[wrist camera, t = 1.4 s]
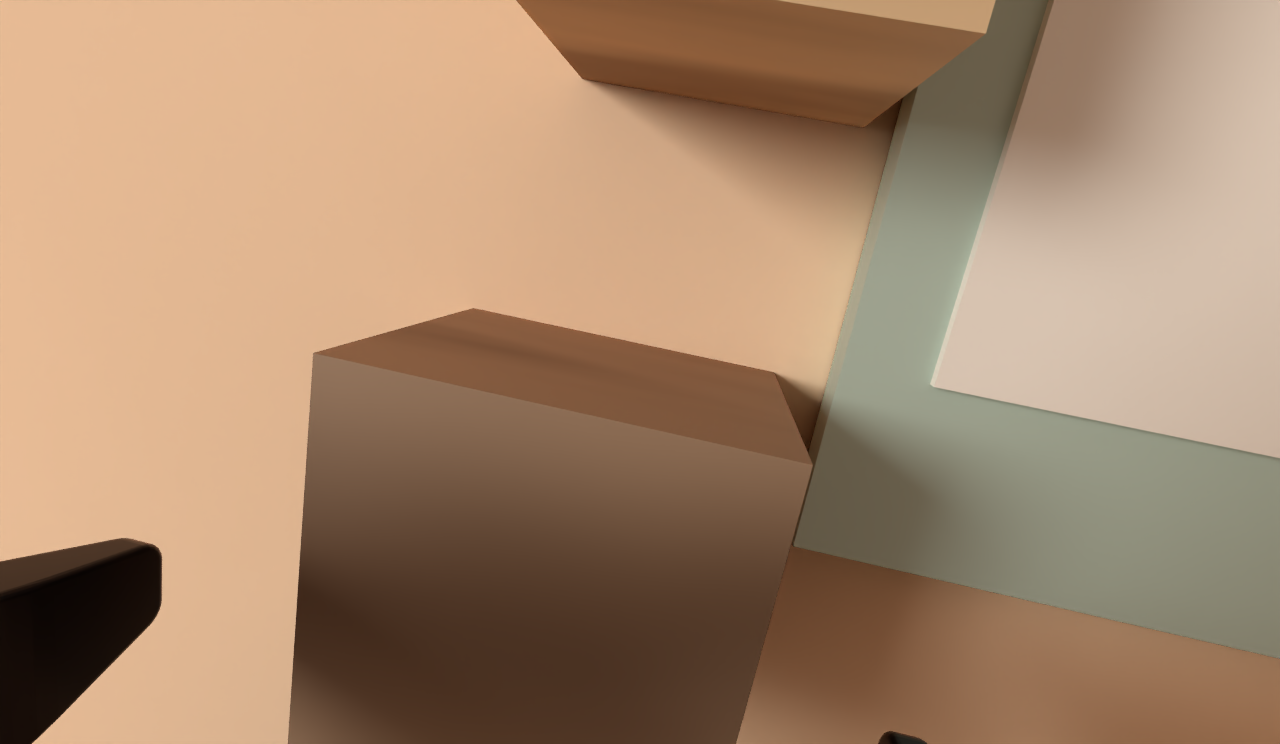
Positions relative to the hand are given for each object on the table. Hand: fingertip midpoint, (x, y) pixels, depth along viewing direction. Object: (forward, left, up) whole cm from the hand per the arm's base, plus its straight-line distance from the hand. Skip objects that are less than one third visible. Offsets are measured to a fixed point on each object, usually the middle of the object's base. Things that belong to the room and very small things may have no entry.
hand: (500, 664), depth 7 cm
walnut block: (0, 0, -6) cm, 6 cm away
